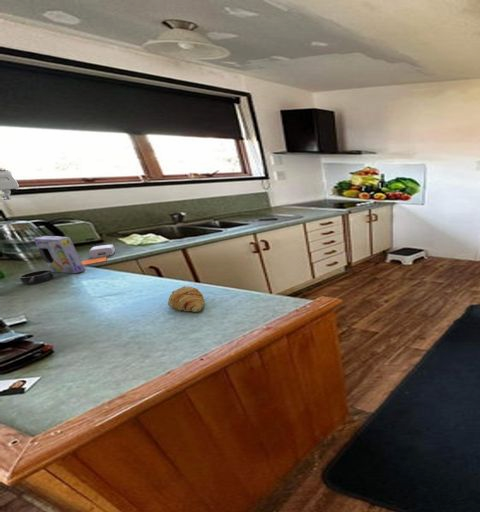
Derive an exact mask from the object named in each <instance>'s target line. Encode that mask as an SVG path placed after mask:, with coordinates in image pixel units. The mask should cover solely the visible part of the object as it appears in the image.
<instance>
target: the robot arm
mask: <svg viewBox="0 0 480 512" xmlns="http://www.w3.org/2000/svg"><path fill="white" fill-rule="evenodd" d="M19 188H20V185H19V183H18V181H17V180H16V178H15V176H14V175H13V173H12V171H10V170H9V169H6V168H0V191H1V192H2V193H3V195H1V198H2V200H3V201H9V200H12V199H11V193H12V191H11V190H18V189H19Z"/></svg>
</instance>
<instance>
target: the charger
mask: <svg viewBox="0 0 480 512" xmlns="http://www.w3.org/2000/svg"><path fill="white" fill-rule="evenodd" d="M115 252H116V249H115V246H114V244H104V245H103V244H101V245H96V246H92V247H91V248H90V250H89V251H88V253H89V256H90V258H91V259H96V258H101V257H109V255H110V256H113V255H114V253H115Z"/></svg>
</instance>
